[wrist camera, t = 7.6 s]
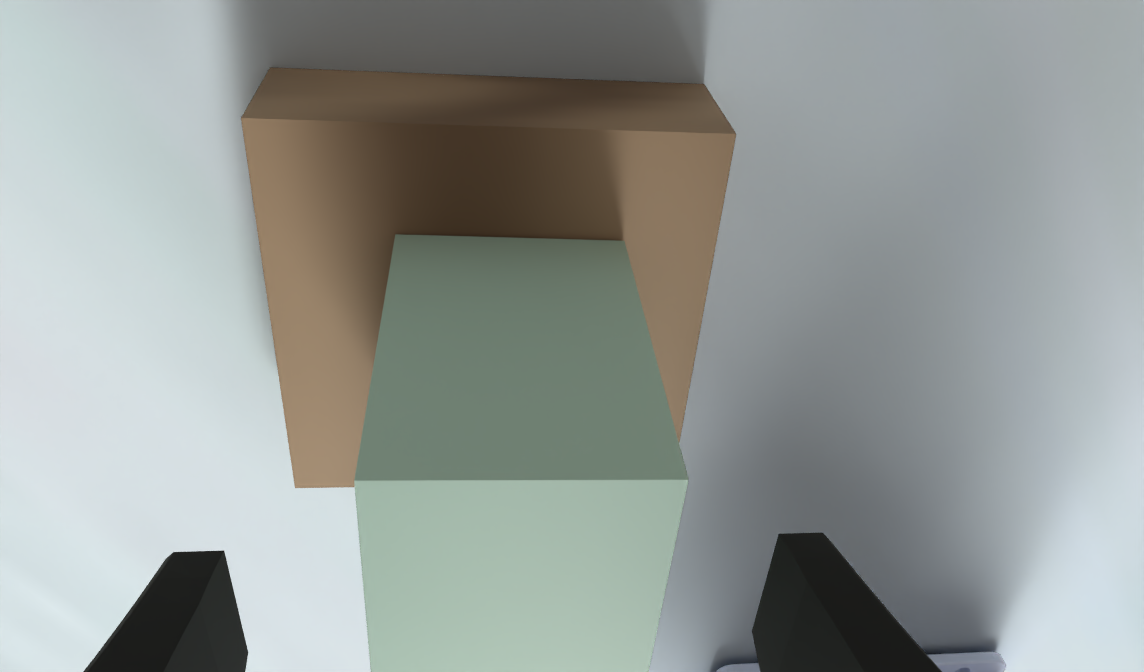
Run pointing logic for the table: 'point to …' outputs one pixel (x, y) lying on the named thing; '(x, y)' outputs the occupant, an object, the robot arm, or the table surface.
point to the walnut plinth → (465, 211)
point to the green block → (515, 461)
